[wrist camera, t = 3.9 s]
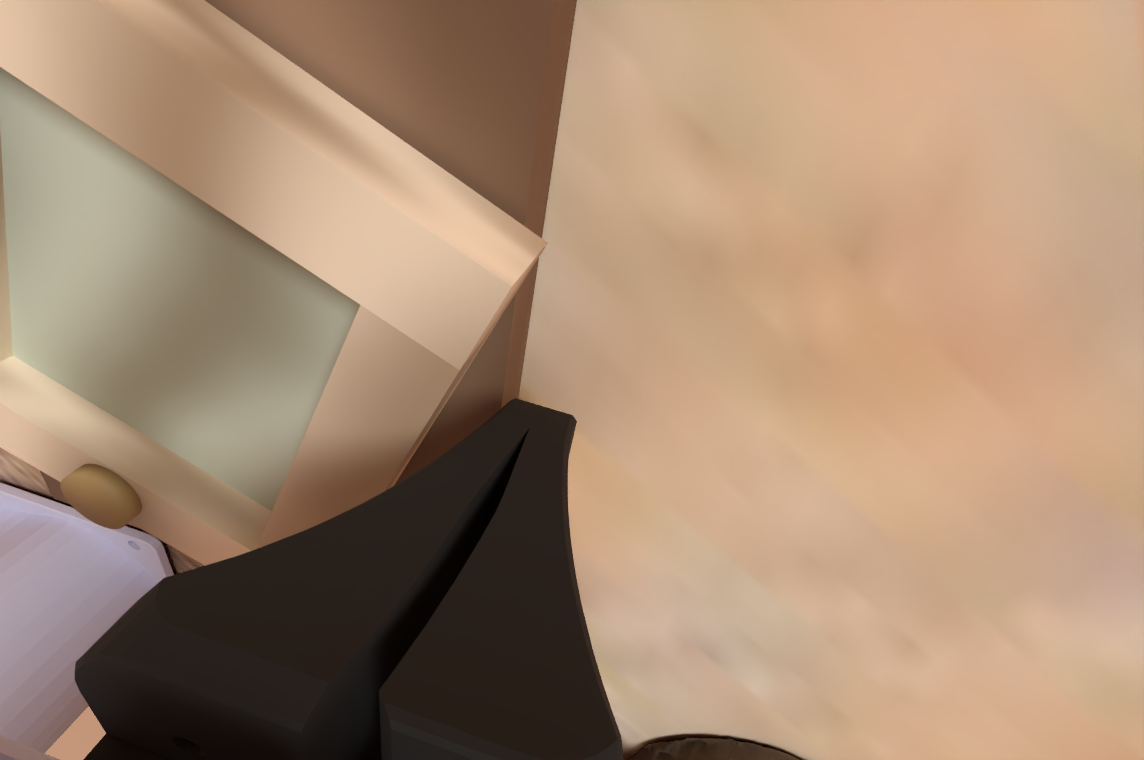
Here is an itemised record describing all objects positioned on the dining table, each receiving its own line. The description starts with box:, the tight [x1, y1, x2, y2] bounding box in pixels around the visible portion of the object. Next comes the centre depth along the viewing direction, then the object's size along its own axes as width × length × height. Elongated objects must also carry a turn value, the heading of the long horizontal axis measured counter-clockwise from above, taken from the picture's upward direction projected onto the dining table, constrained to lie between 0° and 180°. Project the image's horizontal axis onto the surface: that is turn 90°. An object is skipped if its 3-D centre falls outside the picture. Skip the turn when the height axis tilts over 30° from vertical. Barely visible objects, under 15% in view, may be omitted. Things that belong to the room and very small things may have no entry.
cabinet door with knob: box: [0, 0, 547, 566], centre depth 13 cm, size 12×13×2 cm
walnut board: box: [40, 0, 577, 529], centre depth 15 cm, size 16×20×2 cm
